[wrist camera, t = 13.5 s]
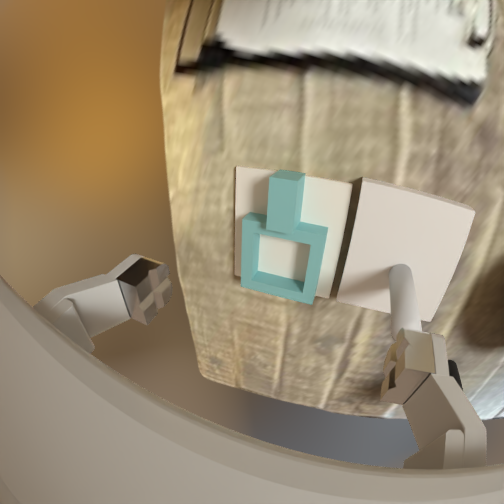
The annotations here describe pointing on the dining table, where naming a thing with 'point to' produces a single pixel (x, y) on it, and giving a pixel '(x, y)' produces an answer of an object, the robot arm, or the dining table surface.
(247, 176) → the mat
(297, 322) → the dining table surface
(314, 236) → the teal square ring handle
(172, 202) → the dining table surface
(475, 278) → the dining table surface
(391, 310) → the post stand
